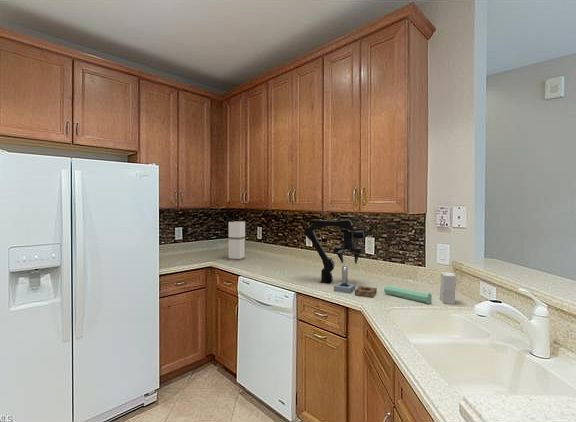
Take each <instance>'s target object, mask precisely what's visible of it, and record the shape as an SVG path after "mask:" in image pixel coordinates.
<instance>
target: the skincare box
mask: <svg viewBox="0 0 576 422" xmlns="http://www.w3.org/2000/svg"><path fill="white" fill-rule="evenodd" d="M456 282H457V276H456V275H455V274H454V273H453V272H447V271H440V284H439V285H440V286H439V287H440V288H439V289H440V290H439V299H440V301H441V302H442V304H448V305H455V303H456V287H457V286H456V285H457V283H456Z"/></svg>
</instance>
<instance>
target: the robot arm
mask: <svg viewBox="0 0 576 422" xmlns="http://www.w3.org/2000/svg"><path fill="white" fill-rule="evenodd" d="M319 227H336V228H341V230H339V233H341V234H342V240H343V241H342V244H343V246H336V247H333V253H335V254H336V255H337V256H338V258H339V261H340V262H341V264H344V256H343V254H344V252H350V253H351V252H353V253H354V254H353V255H354V256H353V257H354V264H355V265H357V263H358V260H359V257H360V255H361V254H363V253H364V252H365V249H364V248H363V247H357V244H356V243H355V242H354V240H353V239H355V240H364V239H365V232H364V228H363V227H362V228H361V227H360V228H355V227H354V225H353V223H352V221H351V220H350V219H342V220H323V219H316V220H315V221H314V222H313V223H312V224H311V225H310V226H308V227H306V228H304V229H303V230H304V231H303V233H304V235H305V237H306V238H307V239H308V240H309V241H310V242H311V244H312V245H313V247H314V248H315V250H316V253H318V256H319V258H320V259H321V261H322V264H323V268H322V269H321V271H320V272H321V276H320V278H321V279H320V280H321V281H320V283H321V284H327V285H329V284H331V283H333V280H334V279H333V278H334V277H333V273H332V271H333V270H334V268H335V261H334V260H333V258H332V257H328V255H327V253H326V251H325V250H324V248H323V247H322V245H321V243H320V241H319V240H318V238H317V234H316V230H317V229H318V228H319Z"/></svg>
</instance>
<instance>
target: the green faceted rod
mask: <svg viewBox="0 0 576 422" xmlns="http://www.w3.org/2000/svg"><path fill="white" fill-rule="evenodd" d="M383 289H384V291H383V292H384V293H385V294H386V295H389V296H394V297H399V298H401V299H402V298H403V299H407V300H411V301H414V302H415V301H416V302H419V303H424V304H426V305H430V304H431V302H432V300H433V299H432V298H433V296H432V294H431V292H428V293H427V292H423V291H416V290H412V289H406V288H401V287H397V286H392V285H386V286H385V287H384V288H383ZM429 303H430V304H429Z"/></svg>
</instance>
